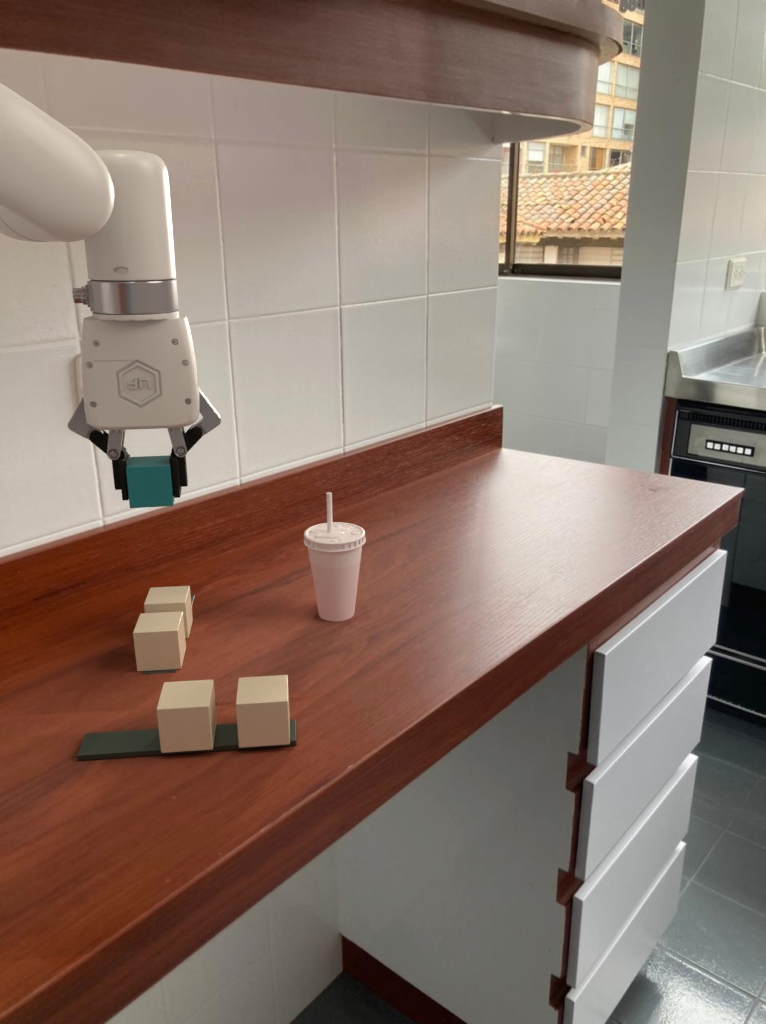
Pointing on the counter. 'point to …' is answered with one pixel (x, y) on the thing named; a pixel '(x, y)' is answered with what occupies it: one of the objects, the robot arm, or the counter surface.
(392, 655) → the counter surface
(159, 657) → the beige double cube
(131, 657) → the counter surface
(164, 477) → the teal rectangular block
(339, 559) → the smoothie
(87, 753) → the dark strip with cubes
